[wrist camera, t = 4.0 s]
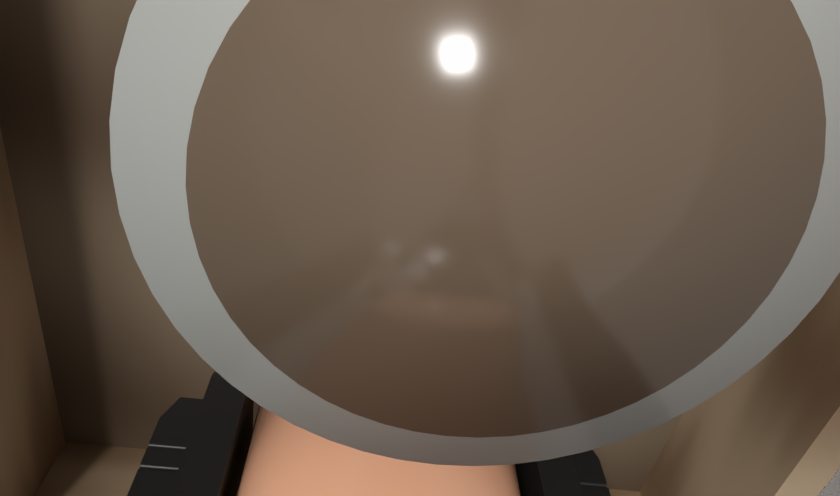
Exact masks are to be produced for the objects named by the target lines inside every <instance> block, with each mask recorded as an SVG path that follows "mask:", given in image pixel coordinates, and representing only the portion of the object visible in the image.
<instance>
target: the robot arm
mask: <svg viewBox="0 0 840 496" xmlns="http://www.w3.org/2000/svg"><path fill="white" fill-rule="evenodd" d="M253 408H254V401H253V400H252V399H250V398H249V397H247V396H246V395H245V394H243V393H242V392H241V391H239V390H238V389H236V388H235V387H234V386H232V385H231V384H230V383H228V382H227V381H226V380H225V379H224V378H223V377H222V376H221V375H220V374H219V373H217V372H214V373H213V374H212V376H211V378H210V381H209V384H208V387H207V390H206V392H205V395H204V398H203V399H196V398H185V397H180V398H179V399H178V400H177V401H176V402H175V403H174V404H173V405H172V406H171V407H170V408H169V409H168V410H167V411H166V412H165V413H164V414H163V415H162V416H161V417H160V418H159V420H158V423H157V425H156V428H155V430H154V432H153V435H152V437H151V439H150V442H149V447H148V448H147V449H146V451H145V454H144V456H143V458H142V461H141V464H140V468H139V469H138V470H137V473H136V475H135V478H134V480H133V482H132V485H131V487H130V489H129V492H128V494H127V496H236V494H237V490H238V487H239V483H240V479H241V475H242V471H243V467H244V463H245V459H246V455H247V451H248V447H249V443H250V439H251V435H252V431H253ZM515 467H516V473H517V479H518V484H519V490H520V496H611V495H610V492H609V488H607V486H606V485H607V482H606V479H605V476H604V473H603V469H602V466H601V463H600V460H599V458H598V456H597V455H596V454H595V452H594V451H593V450H589V451H586V452H582V453H577V454H573V455H568V456H563V457H559V458H554V459H549V460H543V461H535V462H527V463H519V464H515Z"/></svg>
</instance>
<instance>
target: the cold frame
mask: <svg viewBox="0 0 840 496" xmlns="http://www.w3.org/2000/svg"><path fill="white" fill-rule="evenodd" d="M136 1H137V0H0V496H127V494H128V492H129V489H130V487H131V485H132V482H133V480H134V478H135V475H136V473H137V470H138V469H139V468H140V464H141V461H142V458H143V456H144V454H145V451H146V449H147V448H148V447H149V442H150V439H151V437H152V435H153V432H154V430H155V428H156V425H157V423H158V420H159V418H160V417H161V416H162V415H163V414H164V413H165V412H166V411H167V410H168V409H169V408H170V407H171V406H172V405H173V404H174V403H175V402H176V401H177V400H178V399H179V398H180V397H185V398H196V399H203V398H204V395H205V392H206V390H207V387H208V384H209V381H210V378H211V376H212V374H213V373H214V372H216V371H215V370H214V369H213V368H212V367H211V366H210V365H209V364H207V363H206V362H205V361H204V360H203V359H202V358H201V357H200V356H199V355H198V354H197V352H196V351H195V350H194V349H193V348H192V347H191V346H190V344H189V343H188V342H187V341H186V340H185V339H184V337H183V336H182V335H181V334H180V333H179V332H178V331H177V329H176V328H175V327H174V325H173V324H172V322H171V321H170V319H169V318H168V316H167V315H166V314H165V312H164V311H163V309H162V308H161V306H160V305H159V303H158V302H157V300H156V299H155V297H154V296H153V294H152V292H151V290H150V288H149V286H148V284H147V282H146V280H145V278H144V276H143V274H142V272H141V270H140V268H139V266H138V264H137V262H136V260H135V258H134V256H133V253H132V250H131V247H130V244H129V241H128V238H127V235H126V232H125V229H124V226H123V223H122V220H121V217H120V215H119V209H118V204H117V198H116V193H115V188H114V182H113V177H112V171H111V153H110V125H109V119H110V110H111V102H112V93H113V84H114V76H115V68H116V65H117V61H118V57H119V54H120V50H121V46H122V43H123V39H124V35H125V32H126V28H127V25H128V21H129V17H130V15H131V13H132V10H133V8H134V6H135V4H136ZM258 407H259V404H257V403H256V402H254V408H253V427H254V423H255V419H256V415H257V411H258ZM592 450H593V451H594V452H595V454H596V455H597V456H598V458H599V460H600V463H601V466H602V469H603V473H604V476H605V479H606V482H607V485H606V486H607V488H609V492H610V495H611V496H818V494H819V493H820V492H821V491H822V489H823V488H824V487H825V485H826V484H827V483H828V482H829V480H830V479H831V478H832V477H833V475H834V474H835V473H836V471H837V470H838V469H839V468H840V273H839V274H838V275H837V277H836V278H835V280H834V281H833V282H832V284H831V285H830V287H829V288H828V290H827V291H826V292H825V294H824V295H823V297H822V298H821V299H820V301H819V302H818V303H817V304H816V305H815V306H814V308H813V309H812V310H811V311H810V312H809V313H808V314H807V316H806V317H805V318H804V319H803V320H802V321H801V322H800V323H799V325H798V326H797V327H796V328H795V329H794V330H793V331H792V333H791V334H789V335H788V336H787V337H786V338H785V339H784V340H783V341H782V342H781V343H780V344H779V345H778V346H777V347H775V348H774V349H773V350H772V351H771V352H770V353H769V354H768V355H767V356H766V357H765V358H764V359H762V360H761V361H760V362H759V363H758V364H756V365H755V366H754V367H752V368H751V369H750V370H749V371H747V372H746V373H745V374H743V375H742V376H741V377H739V378H738V379H737V380H735V381H734V382H733V383H731V384H730V385H729V386H728V387H726V388H724V389H723V390H721V391H720V392H718V393H716V394H715V395H713V396H712V397H710V398H708V399H707V400H705V401H704V402H702V403H700V404H699V405H697V406H696V407H694V408H692V409H690V410H688V411H686V412H684V413H682V414H680V415H678V416H676V417H675V418H673V419H671V420H669V421H667V422H665V423H663V424H661V425H659V426H657V427H654V428H652V429H649V430H647V431H644V432H642V433H639V434H637V435H634V436H632V437H629V438H627V439H624V440H622V441H619V442H615V443H612V444H609V445H606V446H602V447H599V448H596V449H592Z"/></svg>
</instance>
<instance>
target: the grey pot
mask: <svg viewBox="0 0 840 496" xmlns="http://www.w3.org/2000/svg"><path fill="white" fill-rule="evenodd" d="M109 125H110V153H111V171H112V177H113V182H114V188H115V193H116V198H117V204H118V209H119V215H120V217H121V220H122V223H123V226H124V229H125V232H126V235H127V238H128V241H129V244H130V247H131V250H132V253H133V256H134V258H135V260H136V262H137V264H138V266H139V268H140V270H141V272H142V274H143V276H144V278H145V280H146V282H147V284H148V286H149V288H150V290H151V292H152V294H153V296H154V297H155V299H156V300H157V302H158V303H159V305H160V306H161V308H162V309H163V311H164V312H165V314H166V315H167V316H168V318H169V319H170V321H171V322H172V324H173V325H174V327H175V328H176V329H177V331H178V332H179V333H180V334H181V335H182V336H183V337H184V339H185V340H186V341H187V342H188V343H189V344H190V346H191V347H192V348H193V349H194V350H195V351H196V352H197V354H198V355H199V356H200V357H201V358H202V359H203V360H204V361H205V362H206V363H207V364H209V365H210V366H211V367H212V368H213V369H214V370H215V371H216V372H217V373H219V374H220V375H221V376H222V377H223V378H224V379H225V380H226V381H227V382H228V383H230V384H231V385H232V386H234V387H235V388H236V389H238V390H239V391H241V392H242V393H243V394H245V395H246V396H247V397H249V398H250V399H252V400H253V401H254V402H256V403H257V404H259V405H260V406H261V407H263V408H265V409H267V410H268V411H270V412H272V413H274V414H276V415H277V416H279V417H281V418H283V419H284V420H286V421H288V422H290V423H291V424H293V425H295V426H297V427H300V428H302V429H304V430H307V431H309V432H311V433H313V434H316V435H318V436H320V437H322V438H325V439H327V440H330V441H333V442H336V443H339V444H342V445H345V446H348V447H351V448H354V449H357V450H360V451H363V452H368V453H372V454H376V455H381V456H385V457H390V458H394V459H398V460H405V461H413V462H420V463H428V464H435V465H456V466H490V465H511V464H519V463H527V462H535V461H543V460H549V459H554V458H559V457H563V456H568V455H573V454H577V453H582V452H586V451H589V450H592V449H596V448H599V447H602V446H606V445H609V444H612V443H615V442H619V441H622V440H624V439H627V438H629V437H632V436H634V435H637V434H639V433H642V432H644V431H647V430H649V429H652V428H654V427H657V426H659V425H661V424H663V423H665V422H667V421H669V420H671V419H673V418H675V417H676V416H678V415H680V414H682V413H684V412H686V411H688V410H690V409H692V408H694V407H696V406H697V405H699V404H700V403H702V402H704V401H705V400H707V399H708V398H710V397H712V396H713V395H715V394H716V393H718V392H720V391H721V390H723V389H724V388H726V387H728V386H729V385H730V384H731V383H733V382H734V381H735V380H737V379H738V378H739V377H741V376H742V375H743V374H745V373H746V372H747V371H749V370H750V369H751V368H752V367H754V366H755V365H756V364H758V363H759V362H760V361H761V360H762V359H764V358H765V357H766V356H767V355H768V354H769V353H770V352H771V351H772V350H773V349H774V348H775V347H777V346H778V345H779V344H780V343H781V342H782V341H783V340H784V339H785V338H786V337H787V336H788V335H789V334H791V333H792V331H793V330H794V329H795V328H796V327H797V326H798V325H799V323H800V322H801V321H802V320H803V319H804V318H805V317H806V316H807V314H808V313H809V312H810V311H811V310H812V309H813V308H814V306H815V305H816V304H817V303H818V302H819V301H820V299H821V298H822V297H823V295H824V294H825V292H826V291H827V290H828V288H829V287H830V285H831V284H832V282H833V281H834V280H835V278H836V277H837V275H838V274H839V273H840V0H137V1H136V4H135V6H134V8H133V10H132V13H131V15H130V17H129V21H128V25H127V28H126V32H125V35H124V39H123V43H122V46H121V50H120V54H119V57H118V61H117V65H116V68H115V76H114V84H113V93H112V102H111V110H110V119H109Z"/></svg>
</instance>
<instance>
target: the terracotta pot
mask: <svg viewBox="0 0 840 496" xmlns="http://www.w3.org/2000/svg"><path fill="white" fill-rule="evenodd" d="M236 496H520V490H519V484H518V479H517V473H516V467H515V464H511V465H490V466H456V465H435V464H428V463H420V462H413V461H405V460H398V459H394V458H390V457H385V456H381V455H376V454H372V453H368V452H363V451H360V450H357V449H354V448H351V447H348V446H345V445H342V444H339V443H336V442H333V441H330V440H327V439H325V438H322V437H320V436H318V435H316V434H313V433H311V432H309V431H307V430H304V429H302V428H300V427H297V426H295V425H293V424H291V423H290V422H288V421H286V420H284V419H283V418H281V417H279V416H277V415H276V414H274V413H272V412H270V411H268V410H267V409H265V408H263V407H261V406H260V405H259V407H258V411H257V415H256V419H255V423H254V427H253V431H252V435H251V439H250V443H249V447H248V451H247V455H246V459H245V463H244V467H243V471H242V475H241V479H240V483H239V487H238V490H237V494H236Z"/></svg>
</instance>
